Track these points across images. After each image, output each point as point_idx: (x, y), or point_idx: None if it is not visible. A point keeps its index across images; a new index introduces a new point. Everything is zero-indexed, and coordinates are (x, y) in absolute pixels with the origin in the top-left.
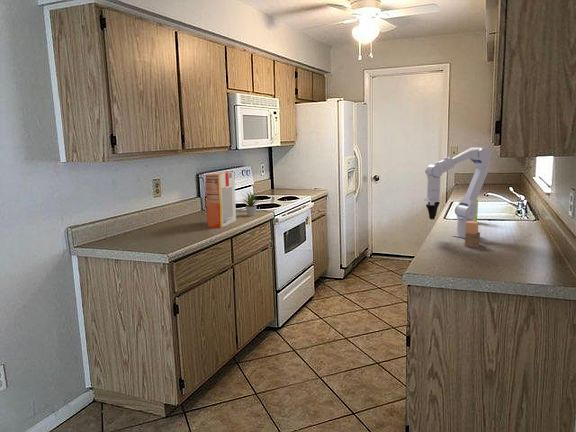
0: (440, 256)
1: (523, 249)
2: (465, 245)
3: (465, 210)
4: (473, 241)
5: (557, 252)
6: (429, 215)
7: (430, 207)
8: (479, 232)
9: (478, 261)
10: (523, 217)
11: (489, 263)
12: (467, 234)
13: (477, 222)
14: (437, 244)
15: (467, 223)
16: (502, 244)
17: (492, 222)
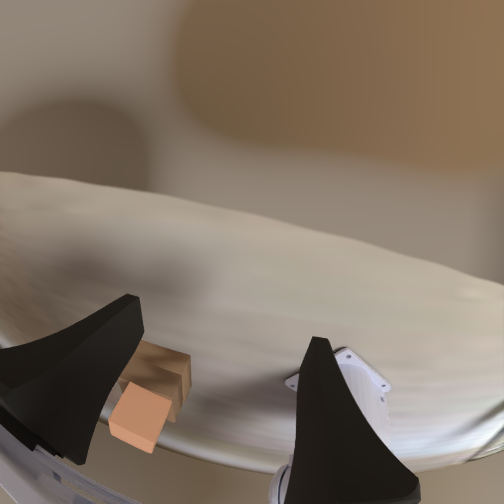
0: (6, 232)
1: (166, 429)
2: (139, 343)
3: (276, 500)
4: None
5: (165, 449)
6: (96, 315)
7: (44, 395)
8: (171, 420)
9: (20, 309)
10: (498, 446)
11: (21, 323)
12: (118, 380)
13: (133, 445)
14: (130, 245)
15: (110, 420)
16: (209, 424)
17: (497, 422)
